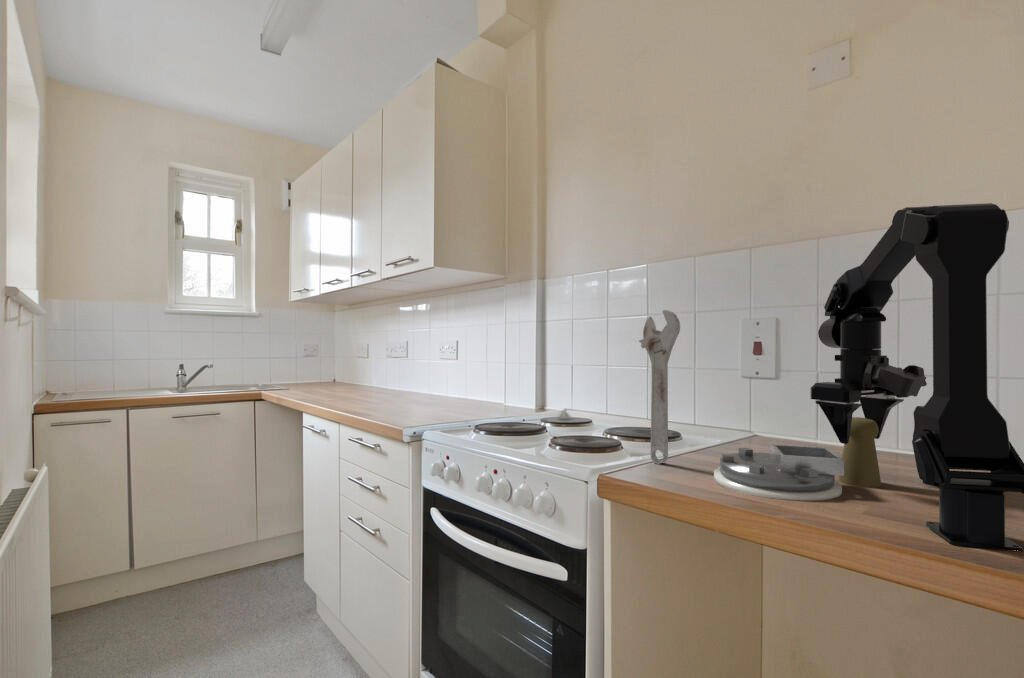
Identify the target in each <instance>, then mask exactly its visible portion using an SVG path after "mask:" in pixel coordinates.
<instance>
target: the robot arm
mask: <svg viewBox="0 0 1024 678" xmlns="http://www.w3.org/2000/svg"><path fill="white" fill-rule="evenodd" d="M1007 214H1008V213H1007V212H1006V210H1005V209H1004V208H1003V209H1001V208H1000V207H999V206H998V205H997V204H995V203H992V202H991V203H990V202H989V203H988V202H987V203H985V202H984V203H965V204H964V203H963V204H943V205H932V206H930V205H929V206H926V205H925V206H909V207H907V206H906V207H904V208H902V209H898V210H897V211H896V212H895V213H894V215H893V217H892V221H891V225H890V227H888V229H887V230H886V231H885V233H884V234H883V236H882V237H881V238H880V239H879V241H878V242H877V244H875V246H874V247H873V249H872V250H871V251H870V253H869V254H868V255H867V256H866V257H865V259H864V261H863V262H862V263H861V264H860V265H858V266H856V267H853V268H850V269H847V270H846V271H845V272H844V273H843V274H841V276H840V277H839V278H837V280H836V281H835V283H834V284H833V285H832V289H831V290H830V293H829V295H828V297H827V300H826V302H825V303H824V304H825V305H824V306H823V308H824V310H825V311H824V316H825V317H829V318H828V319H826V320H825V321H823V322H822V324H821V325H820V326H819V329H818V330H817V332H818V338H819V340H820V342H821V343H822V344H823V345H824V346H826V347H829V348H833V349H840V351H839V353H840V354H834V361H835V362H840V363H839V365H840V366H839V370H840V371H839V373H840V375H839V378H834V382H832V381H823V382H815V383H814V384H813V385H812V386H811V387H810V400H815V404H816V405H818V406H819V408H820V409H821V411H822V413H823V414H824V416H826V419H827V420H828V422H829V424H830V426H831V428H832V430H833V431H834V433H835V435H836V437H837V439H838V441H839V443H840V444H843V445H844V444H848V442H849V437H850V430H851V422H852V417H853V414H854V412H855V411H857V409H859V408H860V407H861V409H862V413H863V415H864V418H867V419H871V420H873V421H875V422H876V423H877V425H878V428H879V432H878V435H877V437H876V438H875V439H876V440H879V439H880V438H881V435H882V432H883V429H884V426H885V424H886V421H887V419H888V416H889V414H890V412H891V410H892V409H893V408H894V407H896V406H897V405H898V404H900V403H903V402H904V400H905V399H904V398H909V397H918V394H919V393H920V390H921V388H922V387H926V386H927V384H928V383H927V381H926V380H927V376H925V370H924V367H921V366H918V365H914V364H912V365H911V364H910V365H907V366H906V367H904V368H902V367H896V366H893V365H890V363H889V362H890V359H889V357H888V356H887V355H882V323H884V322H886V321H887V317H886V316H885V315H884V314H883V313H882V312H881V311H883V309H884V308H885V306H886V305H887V303H888V302H889V301H890V299H891V298H892V295H893V294H894V290H893V286H892V283H893V282H894V280H895V279H896V278H897V276H899V274H901V272H902V271H903V270H904V269H905V268H906V267H907V265H909V263H910V262H911V261H912V260H913V259H914V258H915V260H916V262H917V263H918V264H919V265H920V266H921V268H922V269H923V270H924V271H925V273H926V274H927V275H928V276H929V278H930V279H931V283H932V287H931V288H932V289H931V291H932V294H931V295H932V395H931V397H930V398H929V399H928V401H927V402H926V403H925V404H924V405H917V406H916V407H915V409H914V410H913V412H912V413H913V421H914V422H913V423H914V425H913V428H914V429H913V433H912V440H911V443H912V450H913V455H914V460H915V465H916V471H917V473H918V476H919V477H918V478H919V479H920V480H922V484H923V485H927V486H933V487H936V488H938V491H939V492H938V493H939V494H938V498H939V501H938V504H939V505H938V507H939V508H938V512H939V513H938V521H927V520H926V521H925V525H926V527H928V528H929V530H932V532H934V533H935V534H937V535H938V536H939V537H941V538H942V539H943V540H945V541H946V542H948V543H949V544H951V545H954V546H958V547H959V546H961V547H970V548H980V549H988V550H997V549H1001V550H1000V551H1007V550H1016V551H1017V550H1018V551H1022V552H1023V547H1022V546H1021V545H1019V544H1017V543H1016V542H1014V541H1012V540H1011V539H1010V538H1008V537H1006V493H1020V494H1024V461H1023V459H1022V458H1021V457H1020V455H1019V453H1018V452H1017V451H1016V449H1015V448H1014V446H1013V444H1012V443H1011V441H1010V439H1009V438H1010V437H1009V431H1008V425H1007V421H1006V419H1005V418H1004V417H1003V415H1002V414H1001V413H1000V411H999V410H998V409H997V408H996V407H995V405H994V404H993V402H992V401H990V399H989V396H988V331H987V330H988V325H987V324H988V323H987V322H988V321H987V319H988V317H987V310H988V309H987V306H988V305H987V299H988V298H987V276H988V274H989V273H990V271H991V270H992V269H993V268H994V267H995V265H996V264H997V262H998V261H999V260H1000V258H1001V257H1002V256H1003V255H1004V253H1005V250H1006V243H1007V242H1006V241H1007V236H1008V235H1007V234H1008V231H1009V228H1010V222H1009V221H1010V220H1009V217H1008V215H1007ZM859 402H860V403H859ZM875 439H874V440H875ZM1003 549H1004V550H1003ZM1016 551H1015V552H1016Z"/></svg>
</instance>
